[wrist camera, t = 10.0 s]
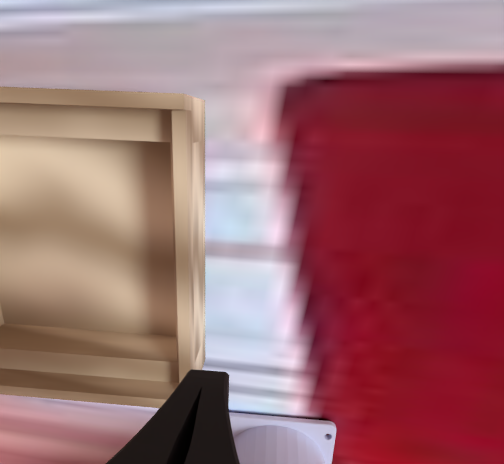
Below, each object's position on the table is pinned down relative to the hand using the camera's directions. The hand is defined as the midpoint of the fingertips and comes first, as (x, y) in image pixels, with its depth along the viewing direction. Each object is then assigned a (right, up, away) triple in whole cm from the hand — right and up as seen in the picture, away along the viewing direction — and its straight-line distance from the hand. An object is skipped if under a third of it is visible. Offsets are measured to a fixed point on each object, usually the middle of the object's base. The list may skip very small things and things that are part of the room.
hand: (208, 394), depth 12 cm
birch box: (-8, +5, +9) cm, 13 cm away
